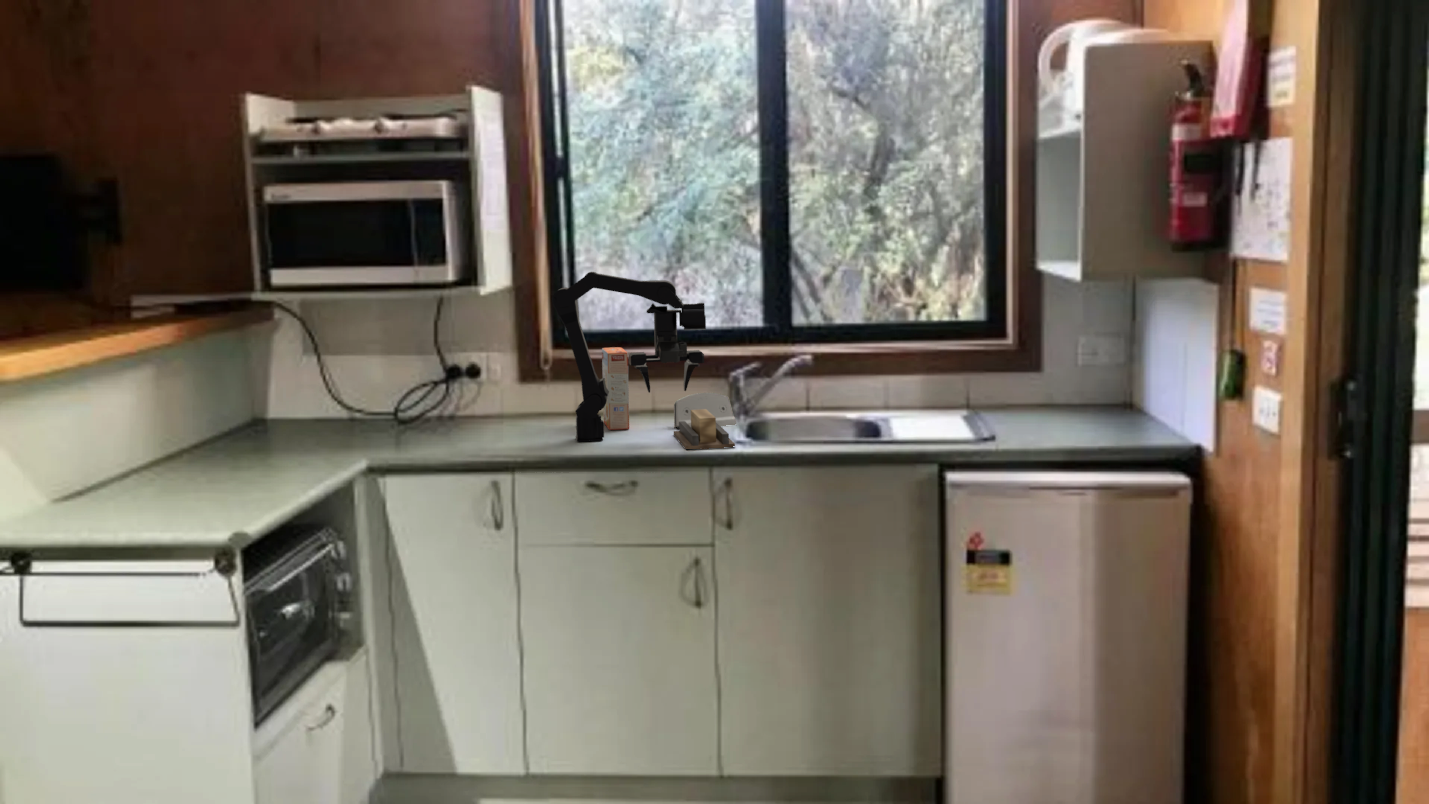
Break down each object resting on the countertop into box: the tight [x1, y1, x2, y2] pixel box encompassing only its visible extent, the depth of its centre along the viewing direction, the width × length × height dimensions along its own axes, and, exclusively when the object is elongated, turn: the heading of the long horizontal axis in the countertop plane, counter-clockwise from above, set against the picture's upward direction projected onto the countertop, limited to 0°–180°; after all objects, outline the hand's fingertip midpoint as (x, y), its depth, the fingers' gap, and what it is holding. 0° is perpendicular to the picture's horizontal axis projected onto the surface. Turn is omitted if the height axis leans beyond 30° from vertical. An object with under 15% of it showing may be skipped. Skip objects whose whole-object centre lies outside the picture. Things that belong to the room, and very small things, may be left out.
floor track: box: [673, 421, 736, 450], centre depth 335 cm, size 12×22×4 cm, turn 10°
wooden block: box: [691, 409, 716, 442], centre depth 335 cm, size 4×14×6 cm, turn 10°
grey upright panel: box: [673, 392, 737, 429], centre depth 358 cm, size 17×5×10 cm, turn 112°
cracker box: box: [601, 346, 630, 431], centre depth 359 cm, size 14×6×21 cm, turn 10°
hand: (667, 391), depth 339 cm, fingers open, 9 cm apart
